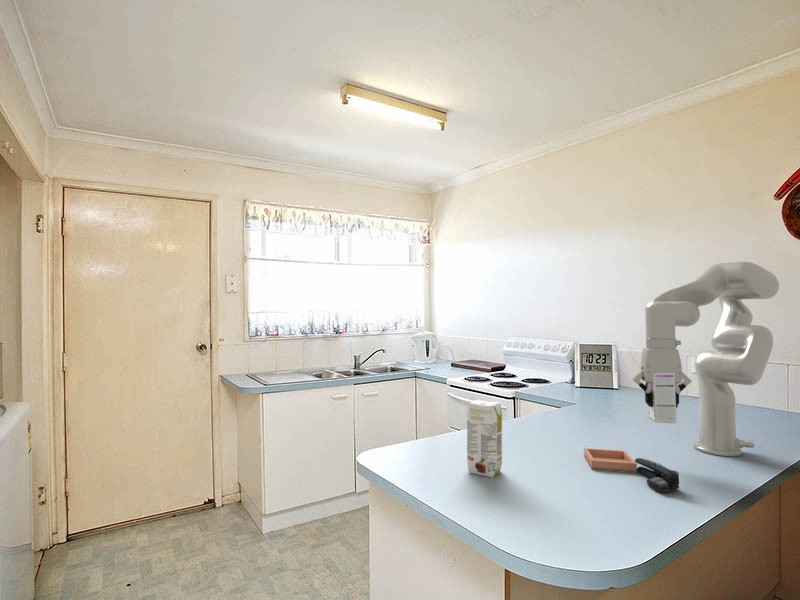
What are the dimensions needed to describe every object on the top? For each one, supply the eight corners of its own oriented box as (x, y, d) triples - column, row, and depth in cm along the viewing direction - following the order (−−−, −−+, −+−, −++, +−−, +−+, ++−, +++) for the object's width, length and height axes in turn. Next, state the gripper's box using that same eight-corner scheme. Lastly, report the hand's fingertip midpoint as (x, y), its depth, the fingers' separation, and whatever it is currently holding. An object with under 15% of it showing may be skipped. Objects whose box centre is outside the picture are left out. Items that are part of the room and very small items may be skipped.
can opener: (688, 496, 108) (687, 473, 109) (658, 495, 109) (657, 472, 109) (651, 470, 126) (651, 450, 126) (625, 470, 127) (625, 449, 127)
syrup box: (677, 423, 128) (676, 372, 129) (654, 422, 130) (653, 372, 130) (669, 418, 134) (668, 369, 134) (647, 417, 135) (646, 369, 135)
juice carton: (494, 479, 118) (494, 406, 118) (464, 473, 123) (464, 402, 123) (504, 470, 124) (504, 401, 125) (475, 465, 129) (475, 398, 129)
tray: (625, 459, 135) (625, 450, 135) (636, 472, 124) (636, 463, 124) (584, 456, 138) (584, 448, 138) (591, 469, 126) (591, 460, 126)
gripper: (688, 343, 134) (689, 404, 134) (625, 343, 138) (626, 402, 137) (699, 345, 127) (700, 410, 126) (632, 345, 130) (633, 408, 130)
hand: (662, 405), depth 132 cm, fingers closed on syrup box, 5 cm apart
